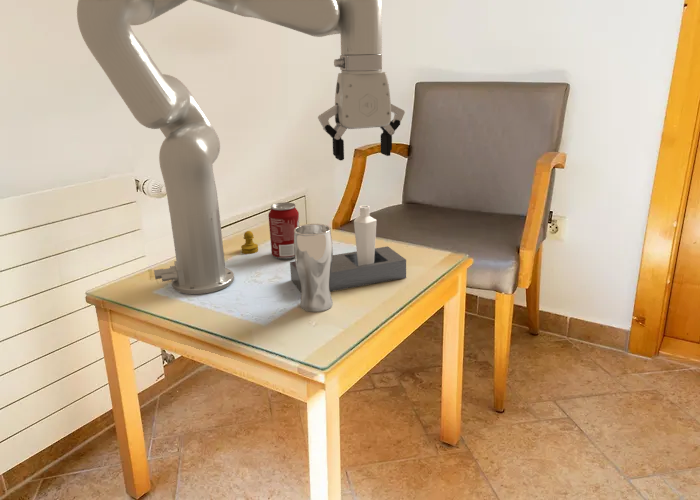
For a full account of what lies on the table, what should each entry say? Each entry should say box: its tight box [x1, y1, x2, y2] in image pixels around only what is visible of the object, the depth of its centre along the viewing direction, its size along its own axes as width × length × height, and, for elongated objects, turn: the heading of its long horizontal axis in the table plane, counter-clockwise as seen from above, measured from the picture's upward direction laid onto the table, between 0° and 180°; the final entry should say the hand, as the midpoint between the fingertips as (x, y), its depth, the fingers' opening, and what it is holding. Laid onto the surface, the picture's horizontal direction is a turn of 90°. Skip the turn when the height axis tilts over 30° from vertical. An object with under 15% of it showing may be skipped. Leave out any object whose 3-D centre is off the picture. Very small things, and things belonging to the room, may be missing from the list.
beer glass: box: [294, 223, 334, 313], centre depth 109 cm, size 7×7×15 cm
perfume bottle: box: [353, 205, 378, 266], centre depth 121 cm, size 5×4×15 cm
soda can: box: [267, 201, 300, 261], centre depth 135 cm, size 7×7×12 cm
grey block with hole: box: [289, 246, 407, 293], centre depth 122 cm, size 22×9×4 cm, turn 111°
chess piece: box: [240, 230, 259, 255], centre depth 140 cm, size 4×4×5 cm
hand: (362, 156), depth 116 cm, fingers open, 9 cm apart
